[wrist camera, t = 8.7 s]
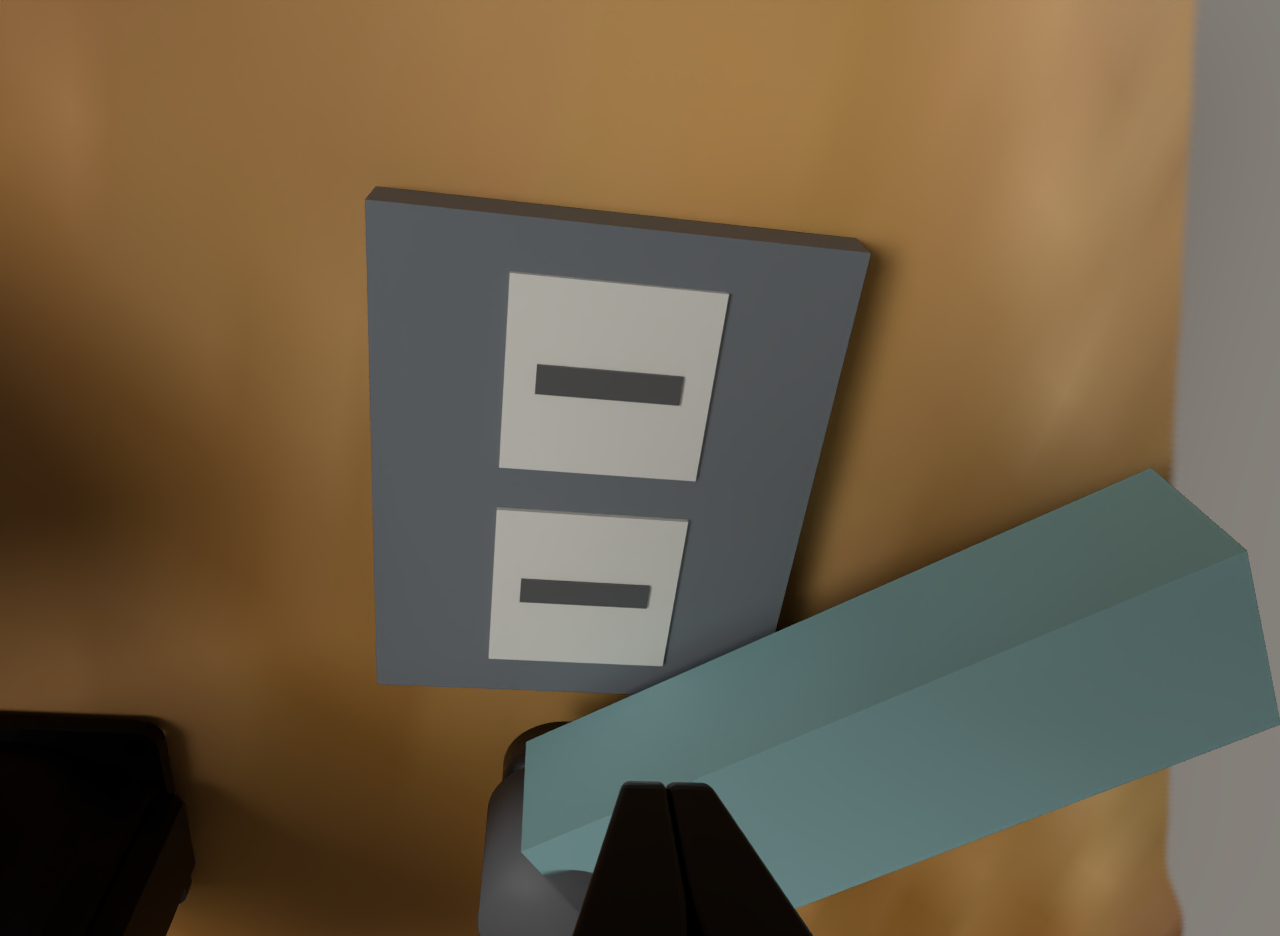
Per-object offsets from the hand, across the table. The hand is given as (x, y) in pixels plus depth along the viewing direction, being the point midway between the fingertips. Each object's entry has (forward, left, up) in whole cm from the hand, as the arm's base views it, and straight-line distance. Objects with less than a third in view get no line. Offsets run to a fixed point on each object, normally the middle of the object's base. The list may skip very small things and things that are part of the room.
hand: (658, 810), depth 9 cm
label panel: (0, -3, -11) cm, 11 cm away
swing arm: (+6, -8, -10) cm, 13 cm away
